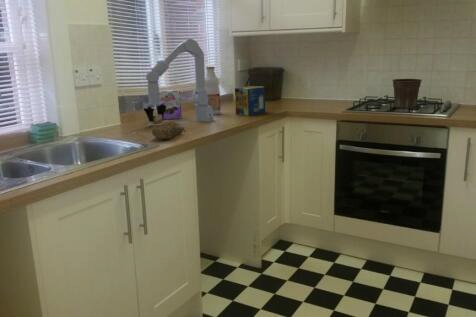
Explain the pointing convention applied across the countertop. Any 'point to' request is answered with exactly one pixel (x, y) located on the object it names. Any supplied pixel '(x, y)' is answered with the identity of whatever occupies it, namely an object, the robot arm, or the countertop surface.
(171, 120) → the terracotta pad
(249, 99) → the protein box
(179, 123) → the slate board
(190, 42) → the robot arm
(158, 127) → the brown rounded lump
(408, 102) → the plant pot
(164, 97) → the candy box
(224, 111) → the countertop surface
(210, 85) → the fruit juice
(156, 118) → the oak block
